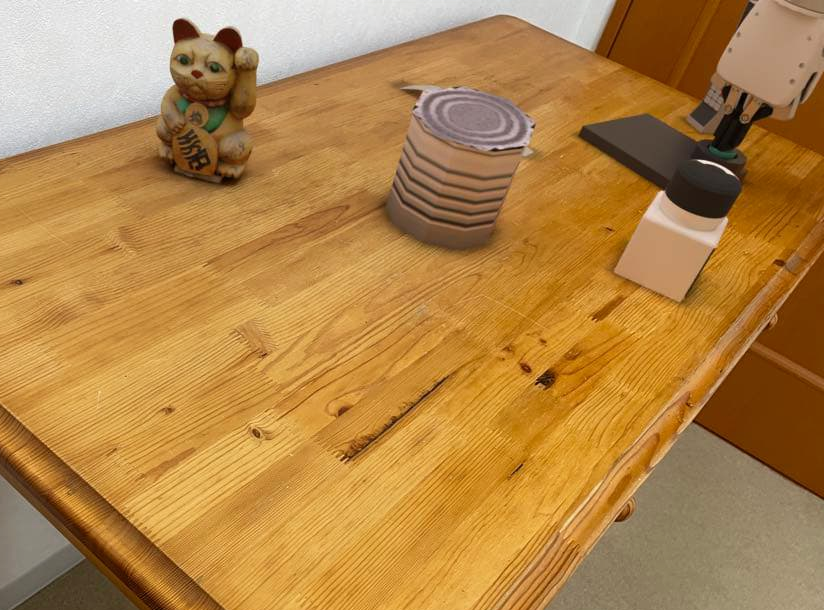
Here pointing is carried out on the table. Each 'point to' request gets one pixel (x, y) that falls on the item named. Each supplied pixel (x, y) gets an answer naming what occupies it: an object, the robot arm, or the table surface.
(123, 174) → the table surface
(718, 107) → the vintage mobile phone
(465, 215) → the can
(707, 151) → the scale
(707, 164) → the medicine bottle
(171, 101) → the decorative figurine
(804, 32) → the robot arm
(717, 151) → the button
